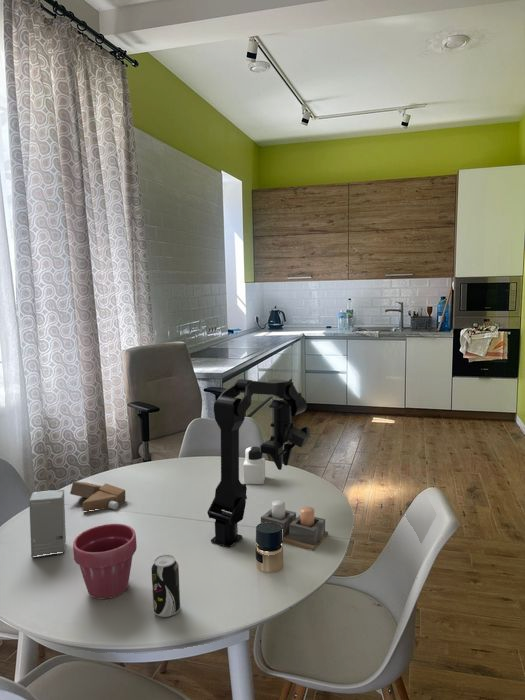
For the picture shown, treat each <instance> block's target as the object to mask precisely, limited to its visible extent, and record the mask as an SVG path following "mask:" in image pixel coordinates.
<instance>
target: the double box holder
mask: <svg viewBox="0 0 525 700" xmlns="http://www.w3.org/2000/svg"><path fill="white" fill-rule="evenodd" d="M265 522H271V523H277V524H279V525H281V526H282V529H283V544H286V545H290V546H294V547H298V548H302V549H306V550H309V551H313V552H314V551H315V549H316V548H317V547H318V546H319V545H320V544H321V543H322V542H323V540H324V539H326V537H328V535H329V531H326V518H321V517H318V516H314V526H313V527H312V528H311V527H307V526H303V525H301V524H300V514H298V515H297V512H295V511H291V510H286V509H285V518H284V519H283V520H278V519H274V518H272V508H271V509H269V510H268V511H267V512H265V513H264V514H263V515H262V516H260V524H261V523H265Z"/></svg>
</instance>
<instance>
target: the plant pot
mask: <svg viewBox="0 0 525 700" xmlns="http://www.w3.org/2000/svg"><path fill="white" fill-rule="evenodd" d="M72 543H73V544H72V550H73V551H72V553H73V554H72V555H73V560H74V561H75V563H76V564H77V565H78V566H79V569H80V572H81V574H82V578H83V582H84V583H85V587H86V590H87V592H88V595H89V594H90V595H91V596H93V597H95V598H94V599H96V598H101V599H100V600H105V599H104V598H108V599H112V598H111V597H113V598H116V597H118V596H119V594H120V595H122V594H123V593H124V592H126V590H127V589H128V587H129V582H130V576H131V570H132V563H133V561H132V560H133V556H134V555H135V553H136V552H137V535H136V531H135V529H134V528H133V527H132V526H130V525H127V524H122V523H108V524H107V523H106V524H101V525H97V526H94V527H91V528H88V529H85V530H84V531H82V532H81V533H79V534H78V535H77V536H76V537H75V538H74V540H73V542H72ZM90 595H89V596H90ZM117 595H118V596H117ZM91 596H90V597H91ZM93 597H92V598H93ZM102 598H103V599H102Z"/></svg>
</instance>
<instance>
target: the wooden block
mask: <svg viewBox="0 0 525 700" xmlns="http://www.w3.org/2000/svg"><path fill="white" fill-rule="evenodd" d="M69 494H70V495H73V496H78V497H82V498H87V499H85V500H84V501H83V502H82V512H83V511H89V510H95V509H101V510H103V509H102V508H106V509H112V510H117V509H118V508H119V506H120V505H122V503H124V502H125V501H126V490H125V489H124V488H121V487H118V486H115V485H111V484H109V483H103V484H102V485H99V484H96V483H95V484H94V483H90V482H86V481H72V484H71V488H70V493H69Z"/></svg>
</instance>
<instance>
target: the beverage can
mask: <svg viewBox="0 0 525 700" xmlns="http://www.w3.org/2000/svg"><path fill="white" fill-rule="evenodd" d="M179 571H180V570H179V563H178V561H177V560H176V557H175V556H174V555H171V554H162V555H159V556H157V557H156V558H155V559H154V560H153V564H152V566H151V583H152V588H151V589H152V603H153V605H152V606H153V607H152V608H153V612H154V614H155V615H157V616H158V617H162V618H168V617H169V618H170V617H172V616H174V615H175V614H177V613H178V612H179V611H180V610H181V593H180V592H181V591H180V572H179Z"/></svg>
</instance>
